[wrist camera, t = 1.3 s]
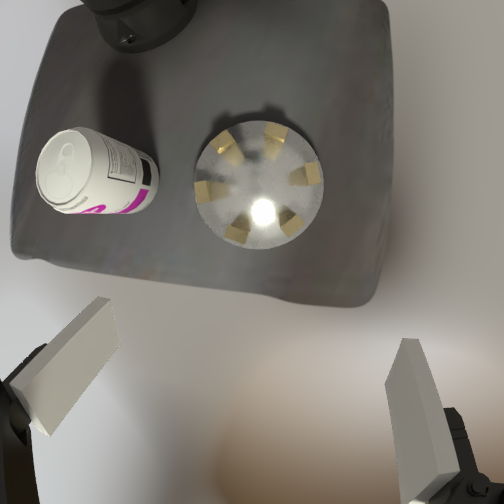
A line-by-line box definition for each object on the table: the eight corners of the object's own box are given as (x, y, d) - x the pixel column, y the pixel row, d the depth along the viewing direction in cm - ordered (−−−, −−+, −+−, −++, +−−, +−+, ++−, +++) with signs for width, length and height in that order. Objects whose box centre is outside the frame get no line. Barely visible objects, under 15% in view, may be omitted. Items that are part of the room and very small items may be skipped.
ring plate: (173, 178, 38) (164, 175, 35) (266, 101, 36) (265, 92, 33) (249, 273, 38) (246, 278, 35) (347, 194, 36) (352, 192, 33)
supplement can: (150, 221, 39) (82, 224, 24) (99, 203, 39) (23, 200, 24) (169, 159, 38) (110, 130, 23) (117, 146, 38) (46, 118, 23)
